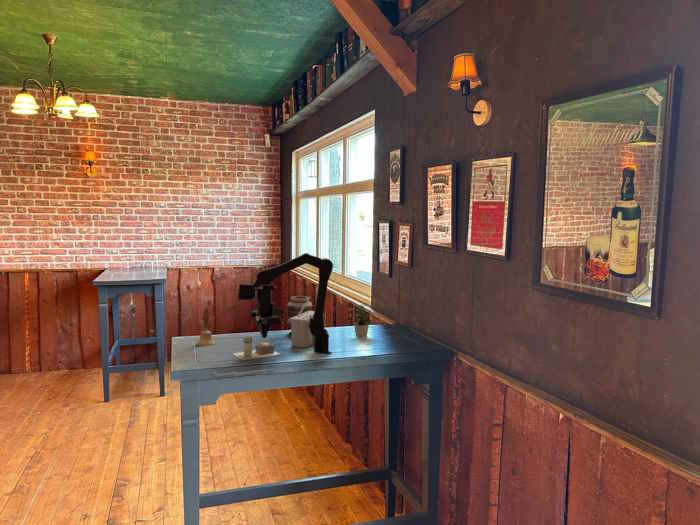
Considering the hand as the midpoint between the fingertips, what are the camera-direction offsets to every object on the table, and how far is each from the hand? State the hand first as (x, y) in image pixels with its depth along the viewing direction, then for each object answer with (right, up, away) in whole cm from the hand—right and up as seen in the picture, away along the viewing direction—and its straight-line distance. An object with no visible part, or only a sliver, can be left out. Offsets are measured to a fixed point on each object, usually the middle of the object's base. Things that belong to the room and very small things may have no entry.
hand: (264, 338), depth 214 cm
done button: (0, -4, 0) cm, 4 cm away
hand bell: (-28, -5, +16) cm, 33 cm away
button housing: (0, -6, +1) cm, 6 cm away
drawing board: (-3, -7, -2) cm, 8 cm away
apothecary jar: (+11, -4, +38) cm, 40 cm away
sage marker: (-5, -6, -6) cm, 10 cm away
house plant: (+39, -4, +34) cm, 52 cm away
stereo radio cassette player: (+16, -6, +19) cm, 25 cm away
